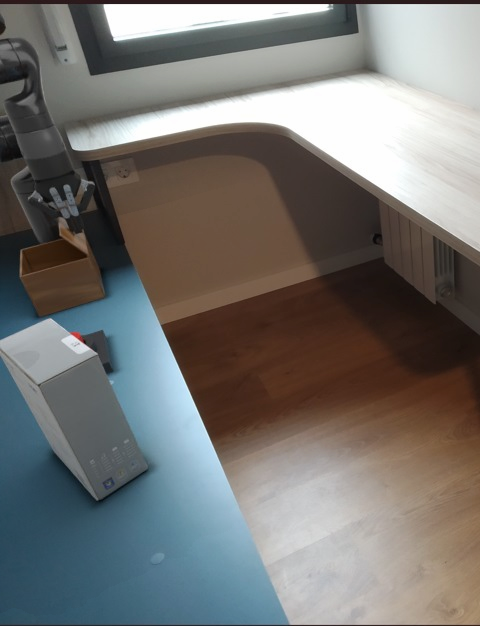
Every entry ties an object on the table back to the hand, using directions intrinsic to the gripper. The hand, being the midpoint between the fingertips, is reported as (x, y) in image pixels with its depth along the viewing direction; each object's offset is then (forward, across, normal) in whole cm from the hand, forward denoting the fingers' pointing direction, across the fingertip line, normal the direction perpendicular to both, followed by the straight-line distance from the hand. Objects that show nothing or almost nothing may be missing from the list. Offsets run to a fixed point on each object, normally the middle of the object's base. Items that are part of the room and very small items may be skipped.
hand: (78, 232), depth 129 cm
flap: (0, +1, 0) cm, 1 cm away
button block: (+12, +6, +31) cm, 34 cm away
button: (+9, +6, +31) cm, 33 cm away
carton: (+12, +6, 0) cm, 14 cm away
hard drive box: (+13, +5, +59) cm, 61 cm away
